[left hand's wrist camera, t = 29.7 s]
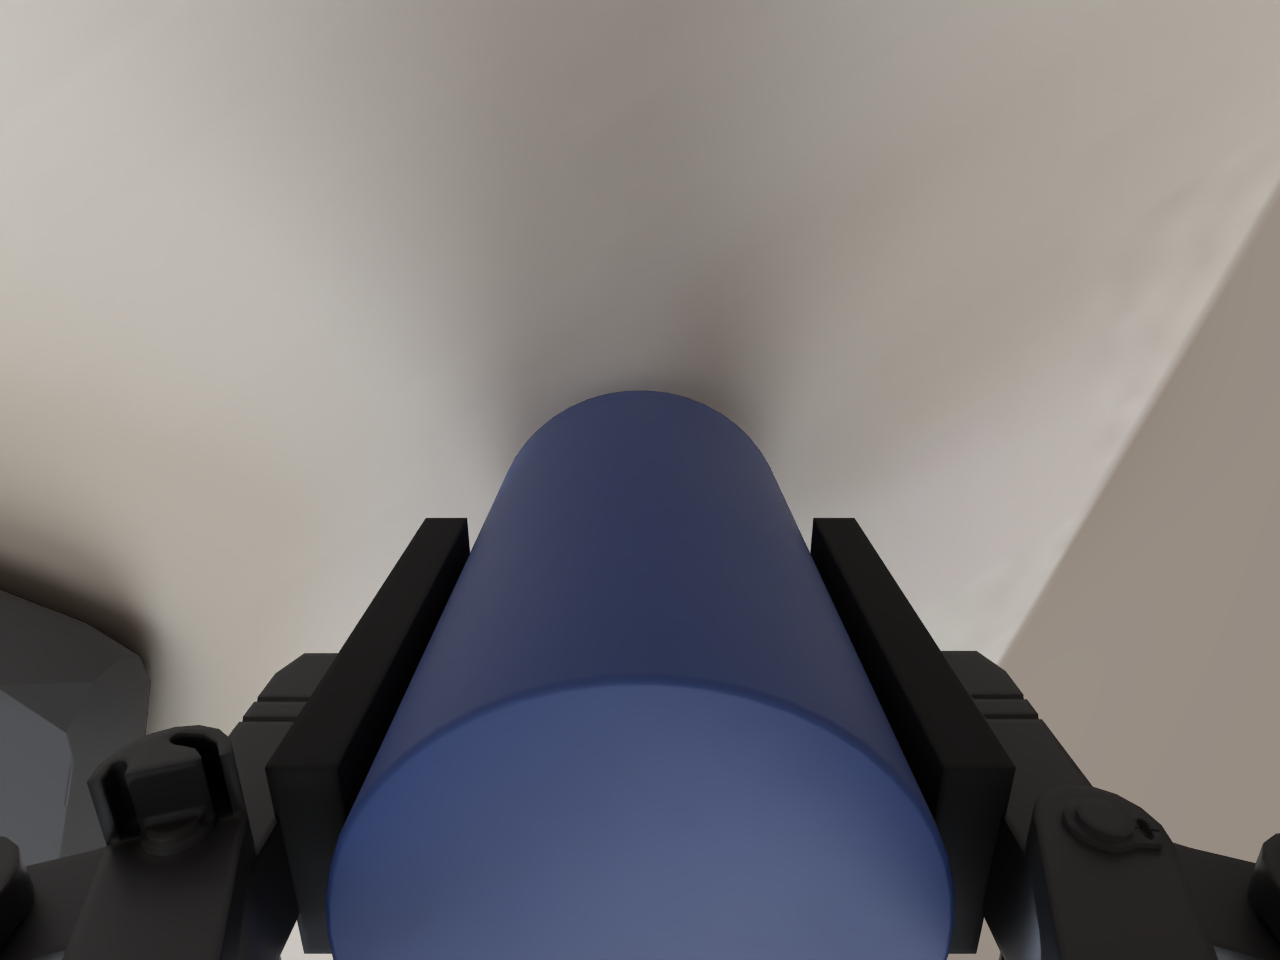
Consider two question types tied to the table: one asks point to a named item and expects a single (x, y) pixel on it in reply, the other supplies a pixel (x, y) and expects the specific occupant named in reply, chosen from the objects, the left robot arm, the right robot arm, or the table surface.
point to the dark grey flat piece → (60, 725)
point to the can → (640, 730)
